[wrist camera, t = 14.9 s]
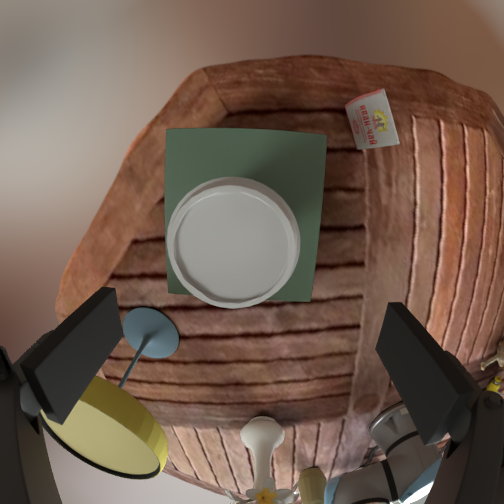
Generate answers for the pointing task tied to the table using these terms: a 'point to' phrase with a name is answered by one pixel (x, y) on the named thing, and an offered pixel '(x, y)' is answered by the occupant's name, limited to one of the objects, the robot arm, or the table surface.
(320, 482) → the squeeze bottle
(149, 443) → the cocktail glass
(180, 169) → the green lidded box
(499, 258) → the table surface
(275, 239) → the disposable coffee cup
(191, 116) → the table surface
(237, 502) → the flower vase
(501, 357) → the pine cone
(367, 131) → the white gable carton
